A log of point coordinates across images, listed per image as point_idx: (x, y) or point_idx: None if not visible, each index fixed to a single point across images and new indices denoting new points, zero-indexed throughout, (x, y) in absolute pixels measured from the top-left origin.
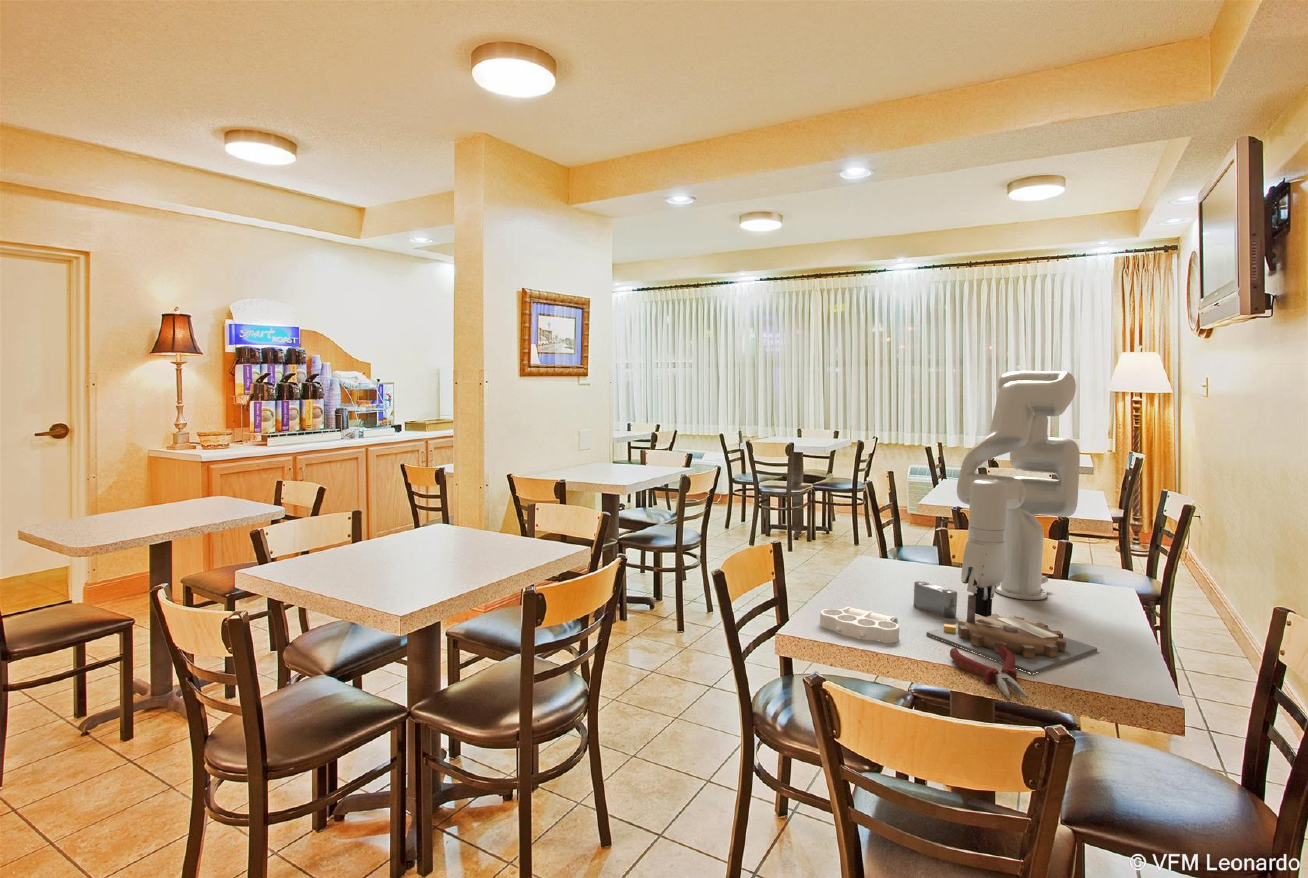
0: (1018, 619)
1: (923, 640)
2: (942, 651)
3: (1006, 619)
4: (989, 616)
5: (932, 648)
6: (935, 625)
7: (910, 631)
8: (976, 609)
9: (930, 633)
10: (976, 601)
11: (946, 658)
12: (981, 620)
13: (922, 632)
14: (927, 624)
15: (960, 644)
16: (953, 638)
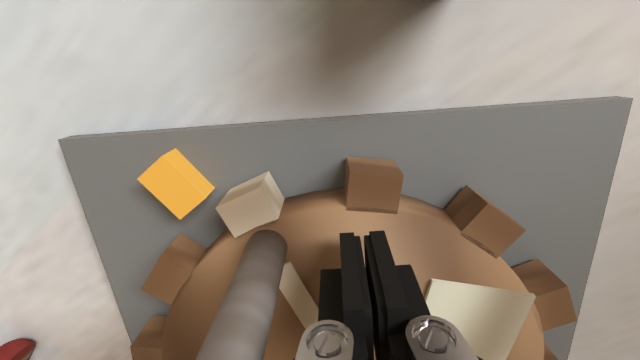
0: (517, 331)
1: (22, 173)
2: (35, 279)
3: (463, 309)
4: (443, 235)
5: (12, 246)
6: (218, 47)
7: (22, 56)
8: (321, 275)
9: (66, 162)
10: (319, 314)
11: (12, 321)
12: (339, 258)
13: (78, 96)
14: (185, 12)
15: (116, 296)
16: (133, 246)
